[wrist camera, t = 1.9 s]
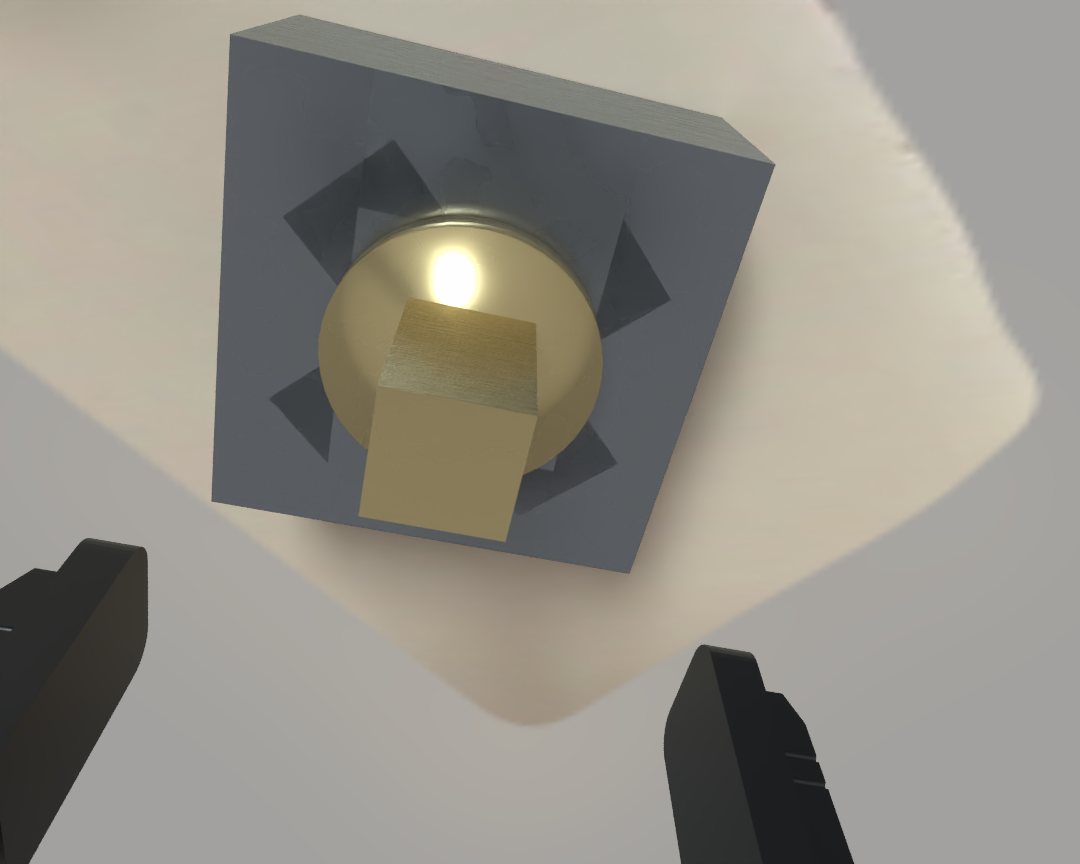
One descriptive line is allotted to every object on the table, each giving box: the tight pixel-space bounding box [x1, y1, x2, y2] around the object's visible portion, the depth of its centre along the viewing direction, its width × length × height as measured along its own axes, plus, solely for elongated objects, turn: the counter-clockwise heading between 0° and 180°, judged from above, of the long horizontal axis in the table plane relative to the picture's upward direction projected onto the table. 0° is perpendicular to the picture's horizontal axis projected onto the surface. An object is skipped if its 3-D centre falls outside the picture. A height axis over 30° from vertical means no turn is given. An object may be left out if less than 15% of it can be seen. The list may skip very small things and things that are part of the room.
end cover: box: [318, 215, 603, 542], centre depth 20 cm, size 7×7×9 cm
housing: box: [212, 15, 775, 573], centre depth 24 cm, size 12×12×6 cm
